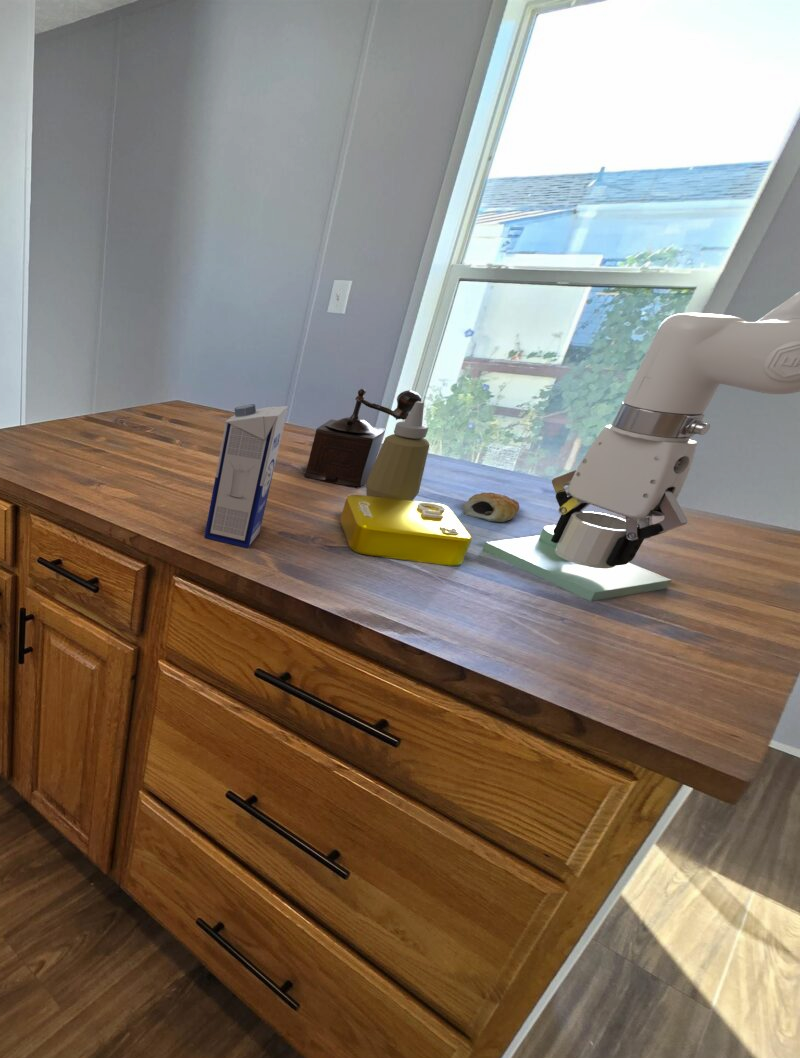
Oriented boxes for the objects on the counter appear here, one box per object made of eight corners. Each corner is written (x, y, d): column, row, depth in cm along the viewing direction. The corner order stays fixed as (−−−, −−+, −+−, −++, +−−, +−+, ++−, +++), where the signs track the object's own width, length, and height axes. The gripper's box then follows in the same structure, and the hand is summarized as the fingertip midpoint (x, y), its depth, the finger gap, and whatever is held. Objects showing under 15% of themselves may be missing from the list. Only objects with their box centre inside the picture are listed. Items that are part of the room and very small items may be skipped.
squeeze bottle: (407, 520, 108) (445, 411, 99) (354, 508, 113) (387, 402, 104) (415, 506, 114) (452, 401, 105) (365, 495, 118) (396, 394, 109)
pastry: (485, 503, 116) (494, 482, 114) (527, 516, 111) (537, 495, 109) (457, 513, 112) (465, 491, 110) (499, 527, 107) (509, 505, 105)
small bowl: (628, 565, 88) (649, 528, 85) (591, 571, 87) (611, 533, 84) (578, 545, 94) (596, 509, 91) (542, 550, 92) (560, 513, 89)
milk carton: (248, 548, 98) (278, 414, 88) (203, 538, 101) (227, 407, 91) (259, 533, 103) (289, 404, 93) (217, 523, 106) (241, 397, 96)
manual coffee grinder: (301, 477, 127) (325, 381, 118) (317, 464, 134) (341, 372, 125) (389, 496, 118) (422, 394, 109) (401, 480, 126) (433, 384, 117)
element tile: (338, 517, 109) (346, 489, 107) (438, 529, 105) (449, 501, 103) (350, 553, 97) (359, 524, 94) (465, 569, 93) (478, 538, 91)
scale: (668, 588, 89) (680, 569, 87) (590, 601, 85) (601, 581, 84) (553, 540, 102) (562, 523, 101) (481, 550, 99) (489, 532, 97)
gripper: (761, 440, 75) (678, 578, 83) (603, 404, 89) (546, 525, 98) (716, 444, 73) (635, 585, 82) (562, 407, 87) (508, 530, 96)
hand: (587, 551), depth 90 cm, fingers closed on small bowl, 6 cm apart
